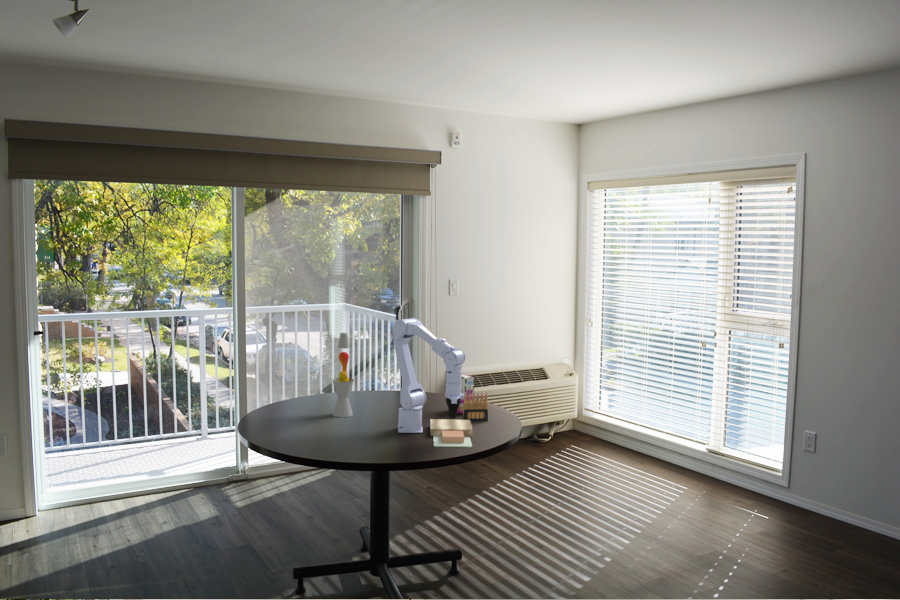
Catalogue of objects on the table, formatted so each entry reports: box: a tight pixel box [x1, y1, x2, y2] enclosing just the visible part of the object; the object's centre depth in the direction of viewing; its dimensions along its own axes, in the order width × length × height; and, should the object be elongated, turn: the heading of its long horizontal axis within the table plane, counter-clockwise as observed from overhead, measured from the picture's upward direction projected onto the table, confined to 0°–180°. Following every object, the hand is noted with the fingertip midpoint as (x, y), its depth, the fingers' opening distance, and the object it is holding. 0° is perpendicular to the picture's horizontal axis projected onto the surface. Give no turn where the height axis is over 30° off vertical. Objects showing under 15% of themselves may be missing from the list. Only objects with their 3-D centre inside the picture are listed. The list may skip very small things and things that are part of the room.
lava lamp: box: [332, 332, 355, 418], centre depth 271 cm, size 9×9×35 cm
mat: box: [432, 436, 473, 448], centre depth 238 cm, size 14×12×1 cm
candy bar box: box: [457, 373, 475, 415], centre depth 282 cm, size 11×5×16 cm, turn 37°
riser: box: [429, 418, 474, 438], centre depth 251 cm, size 16×14×3 cm
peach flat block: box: [442, 431, 464, 443], centre depth 240 cm, size 8×8×2 cm
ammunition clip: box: [461, 392, 489, 422], centre depth 268 cm, size 11×2×12 cm, turn 101°
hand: (452, 418), depth 240 cm, fingers closed
